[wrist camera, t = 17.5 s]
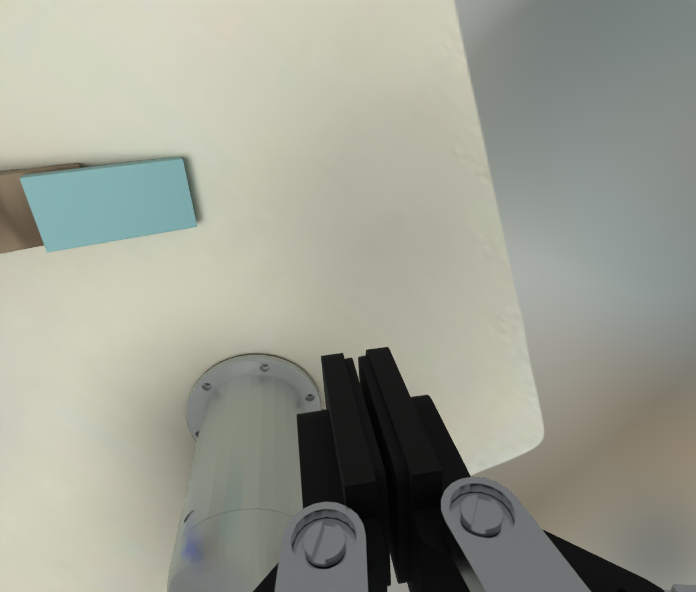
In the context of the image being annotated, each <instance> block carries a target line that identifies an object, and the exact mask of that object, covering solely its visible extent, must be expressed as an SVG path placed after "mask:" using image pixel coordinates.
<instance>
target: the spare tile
mask: <svg viewBox="0 0 696 592" xmlns="http://www.w3.org/2000/svg"><path fill="white" fill-rule="evenodd" d="M20 181H21V184H22V187H23V189H24V192H25V195H26V197H27V200H28V203H29V205H30V208H31V211H32V213H33V216H34V219H35V222H36V224H37V227H38V230H39V232H40V235H41V238H42V240H43V243H44V246H45V248H46V251H47V252H52V251H58V250H64V249H70V248H76V247H82V246H87V245H93V244H99V243H105V242H111V241H117V240H122V239H128V238H134V237H140V236H146V235H152V234H158V233H163V232H169V231H175V230H181V229H187V228H193V227H197V224H196V219H195V214H194V209H193V205H192V200H191V195H190V191H189V186H188V181H187V177H186V172H185V167H184V162H183V159H182V158H181V157H172V158H163V159H155V160H146V161H137V162H129V163H120V164H111V165H103V166H94V167H85V168H77V169H68V170H59V171H51V172H42V173H33V174H25V175H23V176H22V177H20Z"/></svg>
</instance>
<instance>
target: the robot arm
mask: <svg viewBox="0 0 696 592" xmlns="http://www.w3.org/2000/svg"><path fill="white" fill-rule="evenodd" d="M321 362H322V372H323V381H324V391H325V400H326V410H321V406H320V399H319V394H318V391H317V389H316V386H315V384H314V382H313V381H312V380H311V379H310V377H309V376H308V375H307V374H306V373H305V372H304V371H303V370H302V369H300V368H299V367H298V366H296V365H294V364H292V363H291V362H289V361H286V360H284V359H281V358H278V357H273V356H267V355H245V356H239V357H234V358H231V359H228V360H225V361H223V362H221V363H219V364H217V365H215V366H214V367H212V368H211V369H210V370H208V371H207V372H206V373H204V374H203V375H202V376H201V378H200V379H199V380H198V381H197V382H196V384H195V386H194V388H193V389H192V391H191V393H190V397H189V400H188V404H187V411H186V417H187V424H188V427H189V430H190V432H191V434H192V436H193V437H194V439H195V440H196V442H197V445H196V449H195V454H194V458H193V463H192V468H191V472H190V477H189V482H188V486H187V491H186V496H185V500H184V505H183V509H182V514H181V519H180V523H179V528H178V533H177V537H176V542H175V546H174V551H173V555H172V560H171V565H170V570H169V576H168V584H167V592H387V586H390V585H391V574H390V554H391V558H392V562H393V566H394V570H395V574H396V578H397V581H398V583H399V584H400V583H405V582H407V584H408V587H409V591H410V592H696V585H677V584H673V586H672V588H671V590H663V589H661V588H660V587H658V586H656V585H655V584H653V583H651V582H650V581H648V580H646V579H644V578H642V577H640V576H638V575H636V574H634V573H632V572H630V571H628V570H626V569H624V568H621V567H619V566H617V565H615V564H613V563H611V562H609V561H607V560H605V559H603V558H601V557H599V556H597V555H594V554H592V553H590V552H588V551H586V550H584V549H582V548H580V547H578V546H576V545H573V544H572V543H569V542H567V541H565V540H563V539H561V538H559V537H556V536H555V535H553V534H551V533H549V532H546V531H545V530H542V529H541V528H540V526H539V525H538V524H537V522H536V521H535V520H534V519H533V517H532V516H531V515H530V514H529V512H528V511H527V510H526V509H525V507H524V506H523V505H522V504H521V502H520V501H519V500H518V498H517V497H516V496H515V495H514V494H513V493H512V492H511V491H510V490H509V489H508V488H506V487H504V486H502V485H501V484H499V483H498V482H496V481H492V480H489V479H486V478H480V477H471V476H470V474H469V472H468V470H467V468H466V466H465V464H464V462H463V460H462V458H461V456H460V454H459V452H458V450H457V448H456V446H455V444H454V442H453V441H452V439H451V437H450V435H449V433H448V431H447V429H446V427H445V425H444V423H443V421H442V419H441V417H440V415H439V413H438V411H437V409H436V407H435V405H434V403H433V401H432V399H431V398H430V396H428V395H422V396H415V397H410V395H409V392H408V390H407V388H406V386H405V383H404V381H403V379H402V377H401V374H400V372H399V370H398V368H397V365H396V363H395V361H394V358H393V356H392V354H391V352H390V349H389V348H388V347H384V348H377V349H369V350H366V356H361V357H359V358H358V363H359V379H358V376H357V372H356V369H355V365H354V362H353V359H352V358H346V359H344V355H343V353H340V354H332V355H325V356H321ZM359 380H360V383H359Z"/></svg>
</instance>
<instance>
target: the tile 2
mask: <svg viewBox="0 0 696 592" xmlns="http://www.w3.org/2000/svg"><path fill="white" fill-rule="evenodd" d="M77 168H80V165H79V164H78V163H73V164H65V165H57V166H49V167H41V168H33V169H26V170H18V171H10V172H2V173H0V254H1V253H7V252H12V251H17V250H22V249H27V248H32V247H37V246H43V245H44V243H43V240H42V238H41V235H40V232H39V230H38V227H37V224H36V222H35V219H34V216H33V213H32V211H31V208H30V205H29V203H28V200H27V197H26V195H25V192H24V189H23V187H22V184H21V181H20V177H22V176H23V175H25V174H33V173H42V172H51V171H59V170H68V169H77Z"/></svg>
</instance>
